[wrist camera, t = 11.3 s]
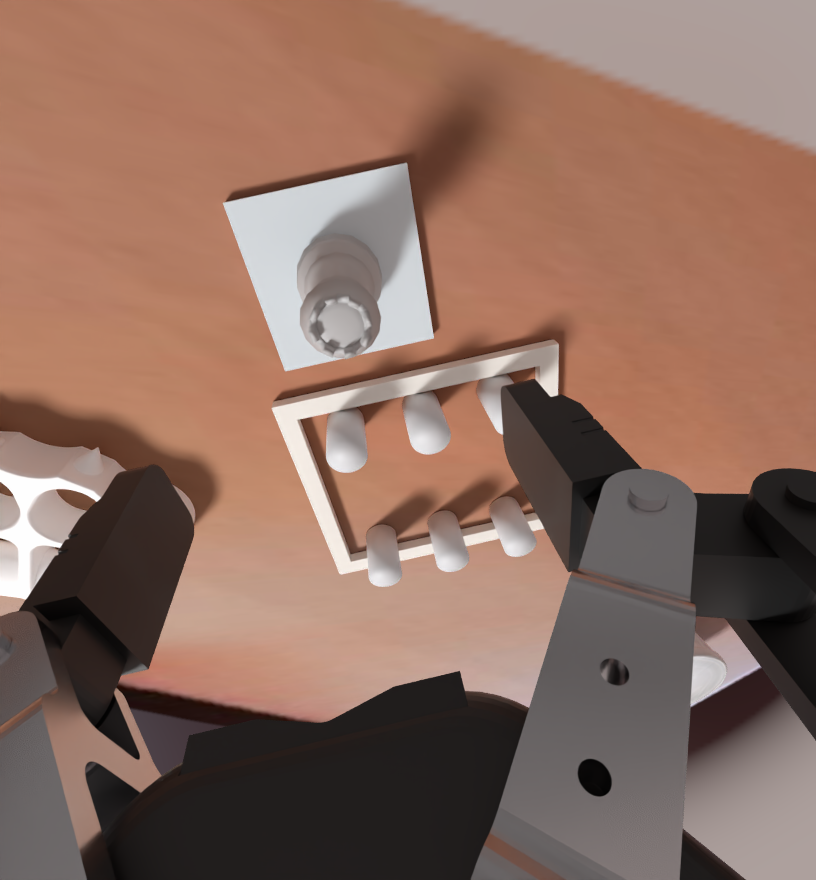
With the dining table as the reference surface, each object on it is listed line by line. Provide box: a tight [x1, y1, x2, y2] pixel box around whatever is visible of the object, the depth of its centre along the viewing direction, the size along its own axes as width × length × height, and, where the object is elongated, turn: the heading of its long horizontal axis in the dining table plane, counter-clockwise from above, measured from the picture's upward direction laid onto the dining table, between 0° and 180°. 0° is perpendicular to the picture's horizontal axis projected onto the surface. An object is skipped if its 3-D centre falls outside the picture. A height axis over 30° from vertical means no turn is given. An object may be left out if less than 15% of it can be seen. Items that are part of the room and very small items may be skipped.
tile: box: [223, 162, 434, 371], centre depth 24 cm, size 9×9×1 cm
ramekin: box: [690, 632, 727, 705], centre depth 48 cm, size 11×11×5 cm
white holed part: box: [0, 431, 195, 599], centre depth 29 cm, size 3×18×15 cm
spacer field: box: [272, 339, 559, 587], centre depth 31 cm, size 18×16×4 cm
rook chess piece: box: [297, 233, 382, 359], centre depth 21 cm, size 4×4×8 cm
